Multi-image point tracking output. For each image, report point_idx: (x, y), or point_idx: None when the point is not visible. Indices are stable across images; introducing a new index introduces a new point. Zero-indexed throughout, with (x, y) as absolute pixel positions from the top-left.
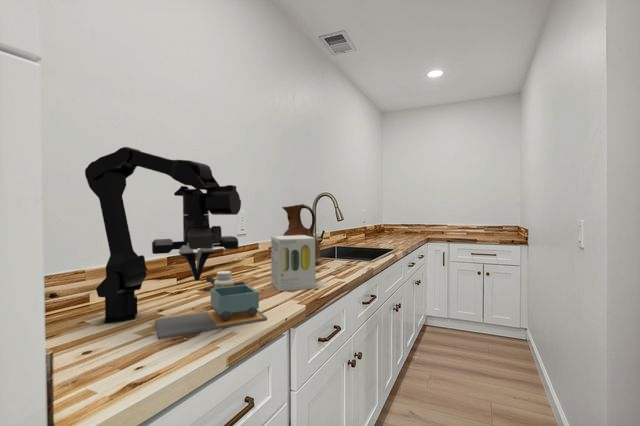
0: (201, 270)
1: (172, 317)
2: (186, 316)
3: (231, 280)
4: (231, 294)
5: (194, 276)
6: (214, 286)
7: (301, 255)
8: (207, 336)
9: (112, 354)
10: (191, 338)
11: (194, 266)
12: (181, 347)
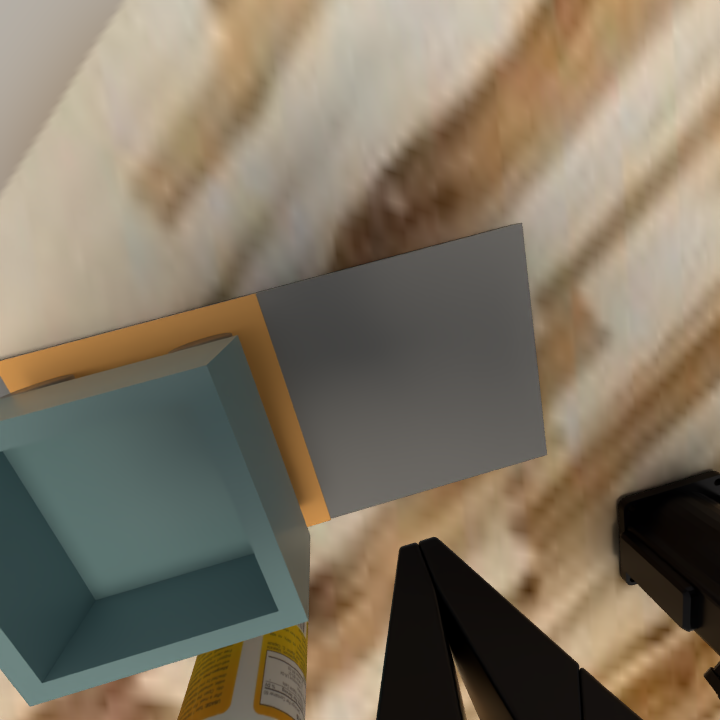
0: (396, 661)
1: (479, 469)
2: (419, 470)
3: None
4: (175, 596)
5: (464, 565)
6: (299, 716)
7: None
8: (293, 193)
9: (674, 91)
10: (368, 189)
11: (547, 711)
12: (403, 71)
